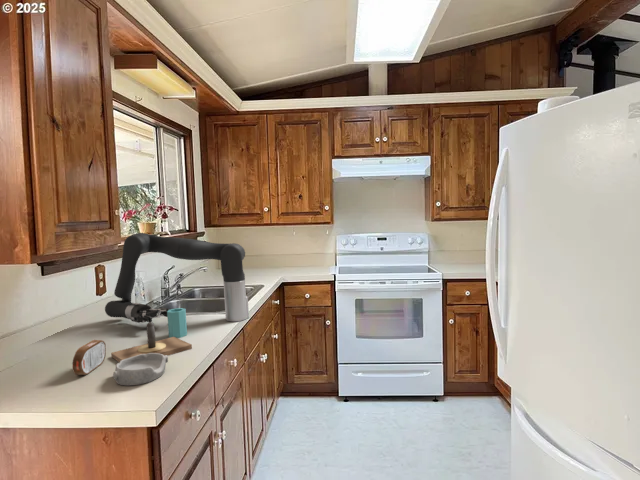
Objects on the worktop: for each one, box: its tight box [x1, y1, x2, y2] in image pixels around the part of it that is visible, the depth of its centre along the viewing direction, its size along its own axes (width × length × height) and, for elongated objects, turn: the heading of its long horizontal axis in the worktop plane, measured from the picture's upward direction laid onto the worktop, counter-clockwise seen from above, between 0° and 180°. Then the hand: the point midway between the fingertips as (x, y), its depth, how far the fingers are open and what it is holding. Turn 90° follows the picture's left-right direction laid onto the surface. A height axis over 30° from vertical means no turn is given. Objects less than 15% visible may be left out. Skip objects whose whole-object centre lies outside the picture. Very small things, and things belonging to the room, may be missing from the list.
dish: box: [112, 353, 169, 386], centre depth 121 cm, size 14×14×5 cm
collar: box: [167, 307, 188, 339], centre depth 160 cm, size 6×6×10 cm
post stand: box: [110, 321, 193, 363], centre depth 141 cm, size 22×14×11 cm, turn 134°
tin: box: [72, 339, 107, 376], centre depth 128 cm, size 15×3×8 cm, turn 1°
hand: (160, 316), depth 166 cm, fingers open, 8 cm apart
